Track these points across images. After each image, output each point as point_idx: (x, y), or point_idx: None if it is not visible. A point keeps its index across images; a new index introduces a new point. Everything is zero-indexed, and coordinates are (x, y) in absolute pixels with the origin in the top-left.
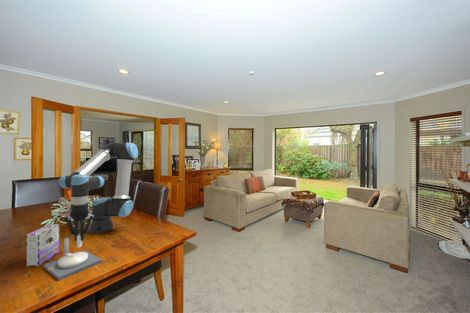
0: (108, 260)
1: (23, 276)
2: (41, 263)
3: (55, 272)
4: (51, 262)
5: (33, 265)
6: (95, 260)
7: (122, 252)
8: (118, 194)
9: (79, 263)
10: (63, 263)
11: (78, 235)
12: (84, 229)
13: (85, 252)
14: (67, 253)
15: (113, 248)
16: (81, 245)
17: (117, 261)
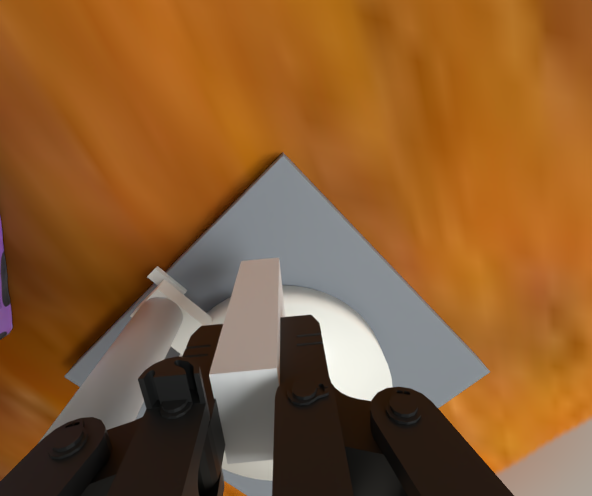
0: (523, 338)
1: (31, 435)
2: (7, 308)
3: (230, 476)
4: (102, 353)
5: None
6: (445, 379)
7: None
8: None
9: None
10: (248, 468)
11: (250, 452)
12: (345, 457)
13: (349, 323)
14: (185, 339)
15: (556, 104)
16: (280, 274)
17: (587, 363)
